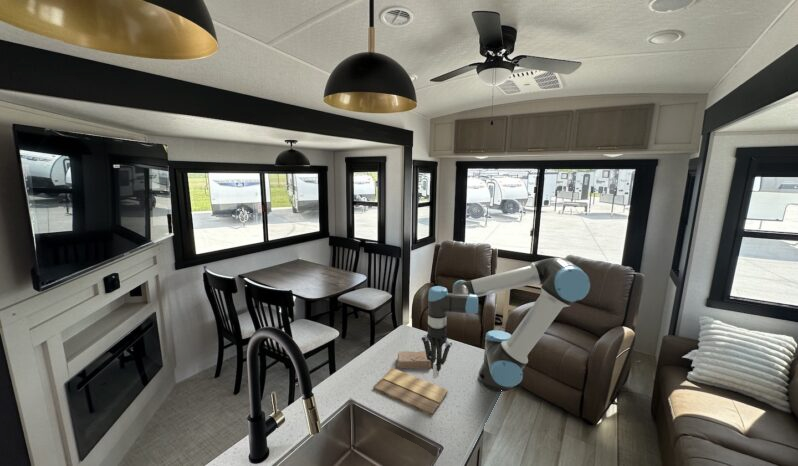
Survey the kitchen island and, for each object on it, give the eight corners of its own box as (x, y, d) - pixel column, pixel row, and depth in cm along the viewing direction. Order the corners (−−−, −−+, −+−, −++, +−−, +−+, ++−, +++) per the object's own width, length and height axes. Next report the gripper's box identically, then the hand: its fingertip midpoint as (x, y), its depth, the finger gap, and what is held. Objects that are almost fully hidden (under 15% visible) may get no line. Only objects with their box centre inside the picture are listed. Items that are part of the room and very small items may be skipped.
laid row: (438, 406, 124) (438, 403, 124) (432, 416, 119) (432, 413, 118) (381, 381, 138) (381, 378, 138) (373, 389, 133) (373, 386, 133)
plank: (447, 392, 131) (447, 389, 131) (439, 405, 125) (439, 402, 124) (392, 369, 145) (392, 367, 145) (382, 380, 139) (382, 377, 139)
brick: (397, 368, 148) (397, 359, 147) (397, 358, 156) (397, 350, 155) (432, 369, 148) (432, 360, 147) (430, 359, 156) (430, 350, 155)
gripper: (455, 324, 125) (453, 376, 130) (426, 317, 132) (425, 366, 136) (448, 332, 119) (446, 387, 123) (418, 324, 126) (417, 376, 130)
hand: (435, 376), depth 130 cm, fingers closed
